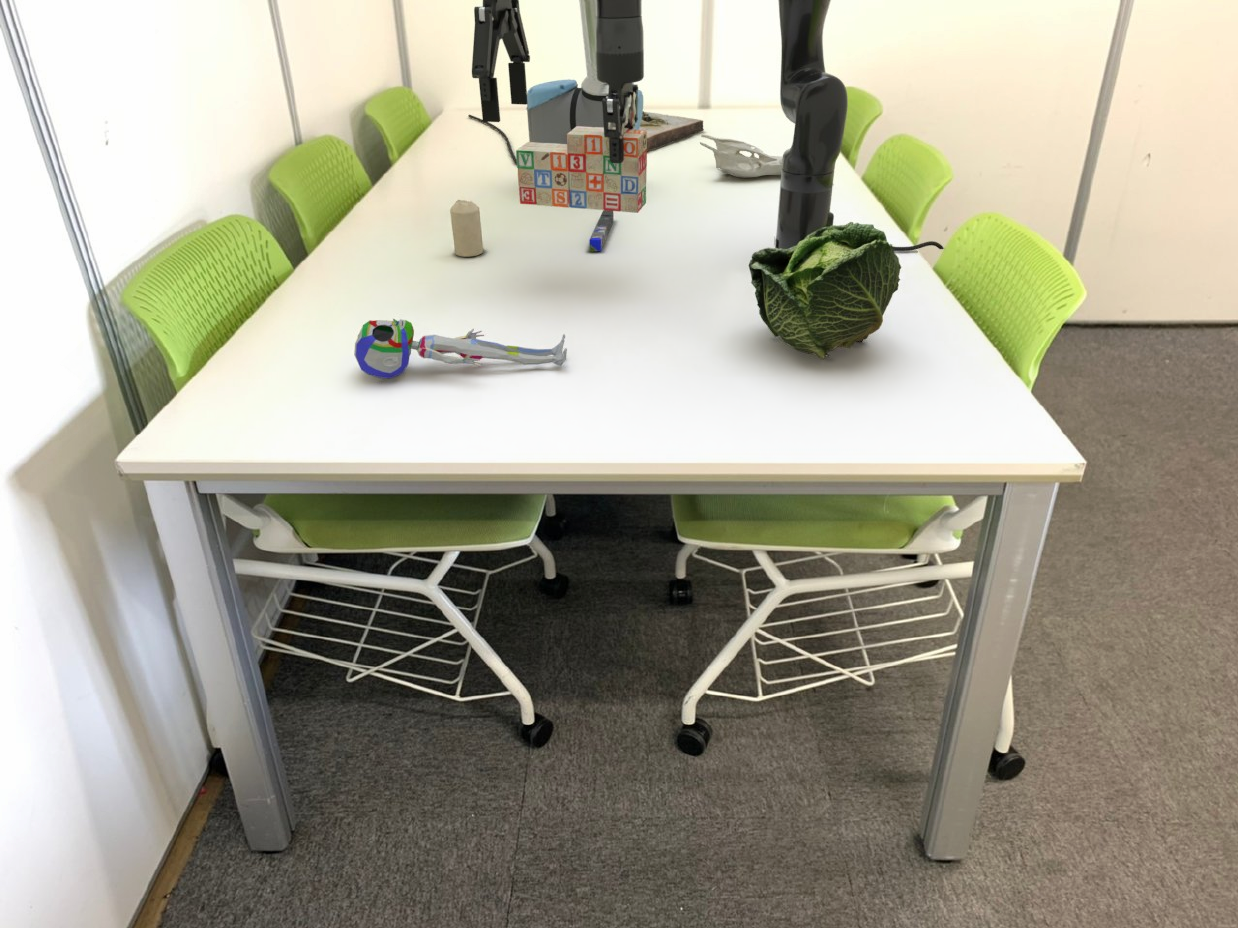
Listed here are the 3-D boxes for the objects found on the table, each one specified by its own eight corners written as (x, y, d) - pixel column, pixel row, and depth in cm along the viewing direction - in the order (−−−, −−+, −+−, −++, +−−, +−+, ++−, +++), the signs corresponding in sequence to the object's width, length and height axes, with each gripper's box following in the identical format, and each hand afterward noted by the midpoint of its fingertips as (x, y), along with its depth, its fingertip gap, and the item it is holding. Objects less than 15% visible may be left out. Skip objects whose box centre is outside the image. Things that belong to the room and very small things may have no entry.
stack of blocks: (518, 205, 155) (513, 131, 149) (531, 195, 160) (526, 123, 154) (638, 213, 150) (638, 136, 144) (647, 202, 155) (647, 128, 149)
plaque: (647, 125, 237) (559, 112, 252) (647, 153, 241) (560, 139, 256) (706, 107, 258) (622, 97, 273) (705, 133, 262) (622, 121, 277)
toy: (569, 347, 126) (349, 329, 122) (563, 400, 131) (350, 385, 126) (565, 318, 135) (359, 301, 130) (559, 369, 139) (360, 354, 134)
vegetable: (778, 371, 145) (721, 264, 137) (874, 304, 146) (823, 195, 138) (839, 398, 127) (777, 277, 119) (948, 321, 128) (894, 197, 120)
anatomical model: (702, 130, 224) (803, 129, 220) (702, 168, 229) (801, 167, 225) (697, 145, 212) (805, 144, 208) (697, 184, 216) (802, 184, 213)
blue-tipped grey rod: (613, 210, 190) (600, 241, 173) (613, 220, 191) (600, 251, 174) (603, 210, 190) (589, 240, 173) (603, 220, 191) (589, 251, 174)
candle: (488, 249, 176) (483, 198, 171) (475, 258, 172) (470, 206, 167) (463, 246, 178) (457, 196, 173) (450, 255, 174) (443, 204, 168)
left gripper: (488, -26, 127) (501, 130, 138) (542, -39, 147) (550, 98, 159) (438, -26, 128) (456, 128, 140) (499, -39, 149) (510, 96, 160)
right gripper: (631, 55, 134) (633, 169, 143) (653, 42, 145) (653, 148, 154) (583, 54, 135) (588, 167, 144) (608, 41, 147) (611, 146, 156)
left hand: (506, 112), depth 149 cm, fingers open, 13 cm apart
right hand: (622, 157), depth 149 cm, fingers closed on stack of blocks, 6 cm apart
